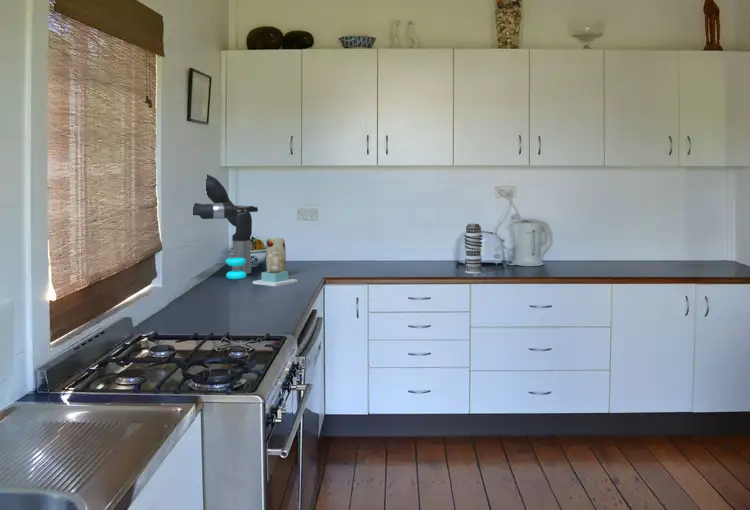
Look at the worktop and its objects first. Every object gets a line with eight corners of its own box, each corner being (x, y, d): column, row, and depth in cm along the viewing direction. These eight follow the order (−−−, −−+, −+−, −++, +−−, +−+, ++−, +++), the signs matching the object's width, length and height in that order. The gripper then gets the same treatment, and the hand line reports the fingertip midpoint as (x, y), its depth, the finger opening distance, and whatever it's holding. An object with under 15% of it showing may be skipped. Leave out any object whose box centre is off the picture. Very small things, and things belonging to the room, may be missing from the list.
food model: (267, 278, 367) (266, 238, 364) (266, 276, 373) (265, 236, 371) (286, 277, 369) (285, 237, 367) (285, 275, 376) (284, 236, 373)
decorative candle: (479, 274, 374) (479, 224, 371) (461, 273, 378) (462, 224, 375) (484, 271, 382) (484, 223, 379) (467, 270, 386) (467, 223, 383)
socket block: (252, 283, 350) (252, 272, 349) (274, 279, 362) (274, 269, 361) (276, 286, 341) (275, 275, 341) (297, 282, 353) (297, 271, 353)
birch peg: (268, 280, 351) (267, 251, 349) (274, 279, 354) (273, 250, 352) (275, 281, 348) (274, 252, 346) (281, 280, 352) (280, 250, 350)
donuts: (222, 258, 368) (242, 256, 373) (223, 277, 370) (242, 276, 375) (229, 260, 360) (248, 258, 365) (230, 280, 361) (249, 278, 366)
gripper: (224, 203, 343) (258, 201, 349) (219, 202, 356) (252, 200, 362) (225, 219, 344) (259, 217, 350) (220, 217, 357) (253, 215, 363)
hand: (255, 208), depth 356 cm, fingers open, 8 cm apart
